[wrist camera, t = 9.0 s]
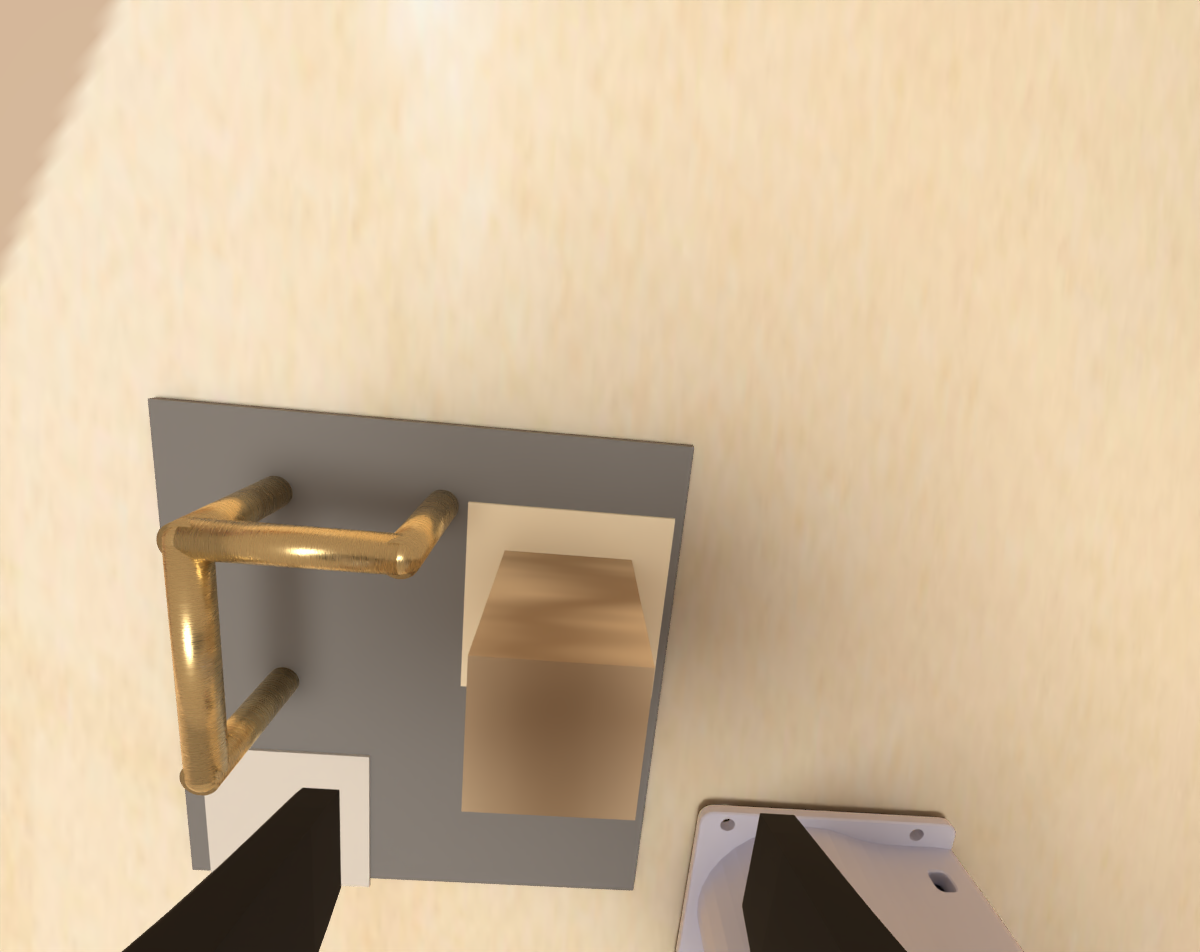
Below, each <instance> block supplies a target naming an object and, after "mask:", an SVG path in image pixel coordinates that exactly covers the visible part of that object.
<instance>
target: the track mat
mask: <svg viewBox="0 0 1200 952" xmlns="http://www.w3.org/2000/svg"><path fill="white" fill-rule="evenodd" d="M148 405H149V416H150V426H151V437H152V447H153V458H154V468H155V479H156V489H157V500H158V510H159V521H160V528H161V527H163V526H164V525H166V524H168V523H170V522H172V521H174V520H176V519H178V518H180V517H183V516H185V515H187V514H189V513H191V512H193V511H195V510H198V509H200V508H202V507H204V506H206V505H208V504H210V503H213V502H215V501H217V500H219V499H221V498H223V497H225V496H228V495H230V494H232V493H234V492H236V491H238V490H240V489H243V488H245V487H247V486H249V485H251V484H253V483H255V482H258V481H260V480H262V479H264V478H266V477H269V476H278V477H281V478H283V479H285V480H286V481H287V482H288V483H289V485H290V486H291V488H292V499H291V501H290V502H289V503H288V504H287V505H286V506H284V507H282V508H281V509H279V510H277V511H276V512H274V513H272V514H271V515H269V516H267V517H266V518H264V519H262V520H261V521H259V522H261V523H274V524H287V525H300V526H312V527H325V528H338V529H351V530H363V531H376V532H389V533H395V532H396V531H397V530H398V528H399V527H400V526H401V525H402V524H403V523H404V522H405V521H406V520H407V519H408V518H409V517H410V515H411V514H412V513H413V512H414V511H415V510H416V509H417V508H418V507H419V506H420V505H421V504H422V503H423V501H424V500H425V499H426V498H427V497H428V496H429V495H430V494H431V493H432V492H434V491H436V490H446V491H449V492H451V493H452V494H453V495H454V496H455V497H456V498H457V500H458V503H459V509H458V512H457V514H456V515H455V517H454V518H453V520H452V521H451V523H450V524H449V526H448V527H447V529H446V530H445V532H444V533H443V535H442V536H441V537H440V539H439V540H438V542H437V543H436V545H435V546H434V548H433V549H432V551H431V552H430V554H429V555H428V556H427V558H426V559H425V561H424V562H423V564H422V565H421V567H420V568H419V570H418V571H417V572H416V573H415V574H414V575H413V576H411V577H409V578H406V579H395V578H392V577H390V576H388V575H383V574H370V573H356V572H343V571H329V570H316V569H303V568H289V567H276V566H263V565H249V564H236V563H222V562H215V566H216V580H217V594H218V608H219V622H220V636H221V650H222V663H223V677H224V691H225V705H226V719H227V720H228V719H229V717H230V716H231V715H232V714H233V713H234V712H235V711H236V710H237V709H238V708H239V706H240V705H241V704H242V703H243V702H244V701H245V700H246V699H247V698H248V697H249V695H250V694H251V693H252V692H253V691H254V690H255V689H256V688H257V687H258V686H259V684H260V683H261V682H262V681H263V680H264V679H265V678H266V677H267V676H268V675H269V674H270V672H271V671H272V670H274V669H276V668H280V667H284V668H288V669H291V670H292V671H294V672H295V673H296V674H297V676H298V678H299V686H298V688H297V689H296V691H295V692H294V693H293V694H292V696H291V697H290V698H289V700H288V701H287V702H286V703H285V705H284V706H283V707H282V708H281V710H280V711H279V712H278V713H277V715H276V716H275V717H274V718H273V720H272V721H271V722H270V723H269V725H268V726H267V727H266V728H265V730H264V731H263V732H262V733H261V735H260V736H259V737H258V739H257V740H256V741H255V742H254V744H253V745H252V746H251V747H250V749H249V750H248V751H247V752H246V754H245V755H244V756H243V757H242V759H241V760H240V761H239V762H238V764H237V765H236V766H235V767H234V769H233V770H232V771H231V772H230V774H229V775H228V776H227V778H226V779H225V780H224V781H223V783H222V784H221V785H220V786H219V788H218V789H217V790H216V791H215V792H214V793H212V794H209V795H205V796H200V795H195V794H192V793H190V792H189V791H187V790H186V789H185V794H186V804H187V815H188V825H189V836H190V846H191V857H192V867H193V870H211V873H212V872H213V871H214V870H215V869H216V868H217V867H218V866H219V865H221V864H222V863H223V862H224V861H225V860H226V859H227V858H228V857H229V856H230V855H231V854H232V853H233V852H234V851H235V850H237V849H238V848H239V847H240V846H241V845H242V844H243V843H244V842H245V841H246V840H247V839H248V838H249V837H250V836H251V835H252V834H253V833H254V832H256V831H257V830H258V829H259V828H260V827H261V826H262V825H263V824H264V823H265V822H266V821H267V820H268V819H269V818H270V817H271V816H272V815H273V814H274V813H275V812H276V811H277V810H278V809H280V808H281V807H282V806H283V805H284V804H285V803H286V802H287V801H288V800H289V799H290V798H291V797H292V796H293V795H294V794H295V793H296V792H298V791H299V790H300V789H301V788H319V789H337V790H339V791H340V850H341V886H357V887H370V878H381V879H402V880H423V881H444V882H465V883H486V884H507V885H528V886H550V887H571V888H592V889H613V890H633V888H634V880H635V873H636V866H637V859H638V851H639V844H640V837H641V830H642V822H643V815H644V808H645V801H646V793H647V786H648V779H649V772H650V764H651V757H652V750H653V743H654V735H655V728H656V721H657V714H658V706H659V699H660V692H661V684H662V677H663V670H664V663H665V655H666V648H667V641H668V634H669V626H670V619H671V612H672V605H673V597H674V590H675V583H676V576H677V568H678V561H679V554H680V547H681V539H682V532H683V525H684V518H685V510H686V503H687V496H688V488H689V481H690V474H691V467H692V459H693V452H694V447H693V445H683V444H672V443H661V442H650V441H638V440H627V439H616V438H604V437H593V436H582V435H571V434H559V433H548V432H537V431H526V430H514V429H503V428H492V427H481V426H469V425H458V424H447V423H436V422H424V421H413V420H402V419H391V418H379V417H368V416H357V415H345V414H334V413H323V412H312V411H300V410H289V409H278V408H267V407H255V406H244V405H233V404H222V403H210V402H199V401H188V400H177V399H165V398H150V399H148ZM505 550H507V551H520V552H533V553H547V554H560V555H573V556H586V557H600V558H613V559H626V560H632V564H633V568H634V573H635V578H636V582H637V587H638V591H639V596H640V601H641V605H642V610H643V615H644V619H645V624H646V628H647V633H648V638H649V642H650V647H651V652H652V656H653V661H654V665H655V672H654V679H653V687H652V695H651V702H650V710H649V718H648V725H647V733H646V741H645V748H644V756H643V764H642V771H641V779H640V787H639V794H638V802H637V810H636V817H635V820H617V819H598V818H578V817H559V816H539V815H520V814H501V813H481V812H462V811H461V808H462V784H463V759H464V735H465V711H466V686H467V662H468V653H469V651H470V648H471V645H472V642H473V639H474V636H475V634H476V631H477V628H478V625H479V622H480V619H481V616H482V614H483V611H484V608H485V605H486V602H487V599H488V597H489V594H490V591H491V588H492V585H493V582H494V579H495V577H496V574H497V571H498V568H499V565H500V562H501V560H502V557H503V554H504V551H505Z"/></svg>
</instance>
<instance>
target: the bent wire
mask: <svg viewBox="0 0 1200 952" xmlns="http://www.w3.org/2000/svg"><path fill="white" fill-rule="evenodd" d="M291 499H292V488H291V486H290V485H289V483H288V482H287V481H286V480H285V479H283V478H281V477H278V476H269V477H266V478H264V479H262V480H260V481H258V482H255V483H253V484H251V485H249V486H247V487H245V488H243V489H240V490H238V491H236V492H234V493H232V494H230V495H228V496H225V497H223V498H221V499H219V500H217V501H215V502H213V503H210V504H208V505H206V506H204V507H202V508H200V509H198V510H195V511H193V512H191V513H189V514H187V515H185V516H183V517H180V518H178V519H176V520H174V521H172V522H170V523H168V524H166V525H164V526H163V527H161V528H160V530H159V531H158V534H157V545H158V548H159V550H160V551H161V553H162V556H163V566H164V577H165V587H166V598H167V608H168V619H169V629H170V640H171V650H172V661H173V671H174V681H175V692H176V702H177V713H178V723H179V734H180V744H181V755H182V765H183V769H182V771H181V773H180V782H181V784H182V786H183V787H184V788H185V789H186V790H187V791H189V792H190V793H192V794H195V795H200V796H205V795H209V794H212V793H214V792H215V791H216V790H217V789H218V788H219V786H220V785H221V784H222V783H223V781H224V780H225V779H226V778H227V776H228V775H229V774H230V772H231V771H232V770H233V769H234V767H235V766H236V765H237V764H238V762H239V761H240V760H241V759H242V757H243V756H244V755H245V754H246V752H247V751H248V750H249V749H250V747H251V746H252V745H253V744H254V742H255V741H256V740H257V739H258V737H259V736H260V735H261V733H262V732H263V731H264V730H265V728H266V727H267V726H268V725H269V723H270V722H271V721H272V720H273V718H274V717H275V716H276V715H277V713H278V712H279V711H280V710H281V708H282V707H283V706H284V705H285V703H286V702H287V701H288V700H289V698H290V697H291V696H292V694H293V693H294V692H295V691H296V689H297V688H298V686H299V678H298V676H297V674H296V673H295V672H294V671H292V670H291V669H288V668H284V667H280V668H276V669H274V670H272V671H271V672H270V674H269V675H268V676H267V677H266V678H265V679H264V680H263V681H262V682H261V683H260V684H259V686H258V687H257V688H256V689H255V690H254V691H253V692H252V693H251V694H250V695H249V697H248V698H247V699H246V700H245V701H244V702H243V703H242V704H241V705H240V706H239V708H238V709H237V710H236V711H235V712H234V713H233V714H232V715H231V716H230V717H229V719H228V720H227V719H226V705H225V691H224V677H223V663H222V650H221V636H220V622H219V608H218V594H217V580H216V566H215V562H222V563H236V564H249V565H263V566H276V567H289V568H303V569H316V570H329V571H343V572H356V573H370V574H383V575H388V576H390V577H392V578H395V579H406V578H409V577H411V576H413V575H414V574H415V573H416V572H417V571H418V570H419V568H420V567H421V565H422V564H423V562H424V561H425V559H426V558H427V556H428V555H429V554H430V552H431V551H432V549H433V548H434V546H435V545H436V543H437V542H438V540H439V539H440V537H441V536H442V535H443V533H444V532H445V530H446V529H447V527H448V526H449V524H450V523H451V521H452V520H453V518H454V517H455V515H456V514H457V512H458V509H459V503H458V500H457V498H456V497H455V496H454V495H453V494H452V493H451V492H449V491H446V490H436V491H434V492H432V493H431V494H430V495H429V496H428V497H427V498H426V499H425V500H424V501H423V503H422V504H421V505H420V506H419V507H418V508H417V509H416V510H415V511H414V512H413V513H412V514H411V515H410V517H409V518H408V519H407V520H406V521H405V522H404V523H403V524H402V525H401V526H400V527H399V528H398V530H397V531H396V532H395V533H389V532H376V531H363V530H351V529H338V528H325V527H312V526H300V525H287V524H274V523H261V522H259V521H261V520H262V519H264V518H266V517H267V516H269V515H271V514H272V513H274V512H276V511H277V510H279V509H281V508H282V507H284V506H286V505H287V504H288V503H289V502H290V501H291Z"/></svg>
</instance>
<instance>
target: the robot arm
mask: <svg viewBox="0 0 1200 952" xmlns="http://www.w3.org/2000/svg"><path fill="white" fill-rule="evenodd" d="M725 819H730V820H729V821H726V822H723V820H725ZM913 830H914V831H913ZM955 833H956V832H955V829H954V828H953V826H952V825H951V824H950V822H949V821H948V820H947V819H945V818H941V817H924V816H906V815H888V814H870V813H852V812H834V811H816V810H798V809H780V808H762V807H744V806H726V805H708V806H706V807H704V808H703V809H702V810H701V811H700V812H699V815H698V820H697V826H696V832H695V838H694V844H693V850H692V856H691V862H690V868H689V874H688V880H687V886H686V892H685V898H684V904H683V910H682V916H681V922H680V928H679V934H678V940H677V946H676V952H1024V951H1023V950H1022V949H1021V947H1020V946H1019V944H1018V943H1017V942H1016V940H1015V939H1014V937H1013V936H1012V935H1011V933H1010V932H1009V930H1008V929H1007V928H1006V926H1005V925H1004V923H1003V922H1002V921H1001V919H1000V918H999V916H998V915H997V913H996V912H995V911H994V909H993V908H992V906H991V905H990V904H989V902H988V901H987V899H986V898H985V897H984V895H983V894H982V892H981V891H980V890H979V888H978V887H977V885H976V884H975V883H974V881H973V880H972V878H971V877H970V875H969V874H968V873H967V871H966V870H965V868H964V867H963V866H962V864H961V863H960V861H959V860H958V859H957V857H956V856H955V854H954V853H953V852H952V850H951V849H952V845H953V842H954V839H955ZM340 889H341V850H340V791H339V790H337V789H319V788H301V789H300V790H299V791H298V792H296V793H295V794H294V795H293V796H292V797H291V798H290V799H289V800H288V801H287V802H286V803H285V804H284V805H283V806H282V807H281V808H280V809H278V810H277V811H276V812H275V813H274V814H273V815H272V816H271V817H270V818H269V819H268V820H267V821H266V822H265V823H264V824H263V825H262V826H261V827H260V828H259V829H258V830H257V831H256V832H254V833H253V834H252V835H251V836H250V837H249V838H248V839H247V840H246V841H245V842H244V843H243V844H242V845H241V846H240V847H239V848H238V849H237V850H235V851H234V852H233V853H232V854H231V855H230V856H229V857H228V858H227V859H226V860H225V861H224V862H223V863H222V864H221V865H219V866H218V867H217V868H216V869H215V870H214V871H213V872H212V873H211V874H210V875H208V876H207V877H206V878H205V879H204V880H203V881H202V882H201V883H200V884H199V885H197V886H196V887H195V888H194V889H193V890H192V891H191V892H190V893H189V894H188V895H187V896H185V897H184V898H183V899H182V900H181V901H180V902H179V903H178V904H177V905H176V906H174V907H173V908H172V909H171V910H170V911H169V912H168V913H166V914H165V915H164V916H163V917H162V918H161V919H160V920H158V921H157V922H156V923H155V924H154V925H153V926H151V927H150V928H149V929H148V930H147V931H146V932H144V933H143V934H142V935H141V936H140V937H139V938H137V939H136V940H135V941H134V942H133V943H131V944H130V945H129V946H128V947H127V948H126V949H124V950H123V951H122V952H319V949H320V946H321V943H322V941H323V938H324V935H325V932H326V930H327V927H328V924H329V921H330V918H331V915H332V912H333V909H334V906H335V903H336V900H337V898H338V895H339V892H340Z"/></svg>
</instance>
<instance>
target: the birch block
mask: <svg viewBox="0 0 1200 952" xmlns="http://www.w3.org/2000/svg"><path fill="white" fill-rule="evenodd" d="M654 672H655V665H654V661H653V656H652V652H651V647H650V642H649V638H648V633H647V628H646V624H645V619H644V615H643V610H642V605H641V601H640V596H639V591H638V587H637V582H636V578H635V573H634V568H633V564H632V560H626V559H613V558H600V557H586V556H573V555H560V554H547V553H533V552H520V551H507V550H505V551H504V554H503V557H502V560H501V562H500V565H499V568H498V571H497V574H496V577H495V579H494V582H493V585H492V588H491V591H490V594H489V597H488V599H487V602H486V605H485V608H484V611H483V614H482V616H481V619H480V622H479V625H478V628H477V631H476V634H475V636H474V639H473V642H472V645H471V648H470V651H469V653H468V662H467V686H466V711H465V735H464V759H463V784H462V808H461V811H462V812H481V813H501V814H520V815H539V816H559V817H578V818H598V819H617V820H635V817H636V810H637V802H638V794H639V787H640V779H641V771H642V764H643V756H644V748H645V741H646V733H647V725H648V718H649V710H650V702H651V695H652V687H653V679H654Z"/></svg>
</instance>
